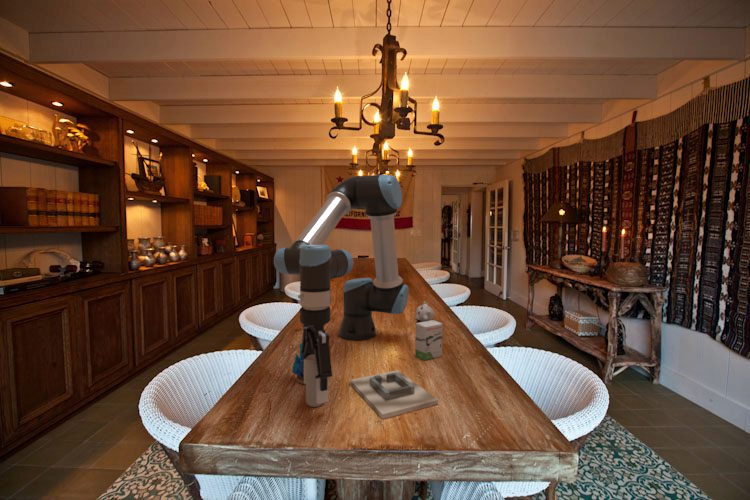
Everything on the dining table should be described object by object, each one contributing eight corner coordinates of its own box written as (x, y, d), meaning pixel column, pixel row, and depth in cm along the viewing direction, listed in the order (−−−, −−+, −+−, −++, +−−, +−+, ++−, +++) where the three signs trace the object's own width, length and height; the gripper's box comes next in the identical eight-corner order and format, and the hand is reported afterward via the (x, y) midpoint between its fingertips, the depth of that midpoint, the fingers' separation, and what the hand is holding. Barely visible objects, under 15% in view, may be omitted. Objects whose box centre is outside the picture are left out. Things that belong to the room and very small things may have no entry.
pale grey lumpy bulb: (420, 297, 173) (426, 301, 158) (434, 306, 173) (441, 310, 158) (410, 314, 172) (415, 319, 157) (424, 323, 172) (430, 328, 158)
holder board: (349, 384, 100) (349, 373, 100) (398, 373, 107) (398, 363, 107) (382, 419, 82) (382, 406, 82) (437, 404, 89) (438, 392, 89)
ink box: (424, 361, 117) (424, 326, 116) (414, 356, 121) (415, 323, 120) (442, 355, 122) (443, 322, 121) (432, 351, 126) (433, 319, 125)
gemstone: (296, 373, 106) (296, 335, 105) (324, 374, 106) (324, 335, 105) (289, 384, 99) (289, 343, 98) (320, 385, 99) (320, 344, 98)
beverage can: (306, 398, 91) (306, 353, 90) (325, 398, 92) (325, 353, 91) (304, 408, 86) (304, 361, 86) (324, 407, 87) (324, 360, 86)
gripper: (289, 298, 96) (290, 376, 97) (314, 319, 75) (314, 418, 77) (316, 296, 99) (316, 371, 101) (346, 316, 78) (346, 410, 80)
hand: (315, 391), depth 89 cm, fingers open, 11 cm apart
